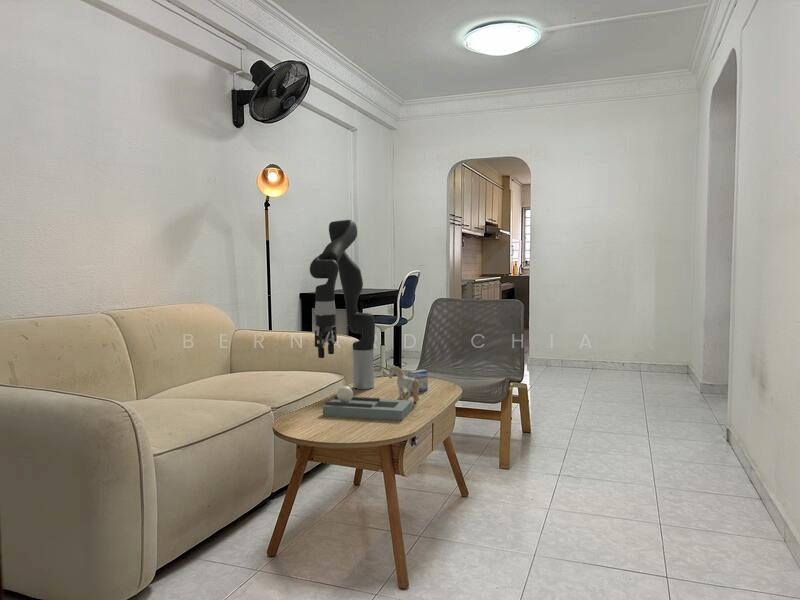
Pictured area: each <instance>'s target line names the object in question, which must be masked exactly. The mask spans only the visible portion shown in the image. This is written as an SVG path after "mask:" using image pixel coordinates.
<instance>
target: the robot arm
mask: <svg viewBox="0 0 800 600" xmlns="http://www.w3.org/2000/svg"><path fill="white" fill-rule="evenodd" d="M328 235H329V238H330V242H329V243H328V244H326V246H325V248H324V249H323V251H322V253H320V254H319V255H317V256H316V257H315V258H314V259H313V260H312V261H311V262H310V265H309V273H310V276H311V277H312V278H315V279H327V281H326V282H325V283H324V284H320V285H317V286H316V287H315V292H314V293H315V303H314V304H315V306H314V314H315V315H314V319H315V320H314V323H315V326H316V327H318V330H314V347H315V348H317V351H318V353H317V355H318V356H317V357H318V358H319V359H325V345H326V343H327V354H329V355H334V354H335V343H336V342H337V341H338V340H337V337H338V336H337V335H338V334H337V326H336V324H337V322H336V321H337V320H336V303H335V287H336V282H337V279H338V274H339V280H340V284H341V287H342V288H341V289H342V292H343V296H344V303H345V310H346V318H347V319H346V320H347V326H348V328H349V329H348V330H349V331H350V332H351V333H353V334H360V335H362V336H361V339H359V340H357V341H353V343H352V385H353V386H352V387H354V388H353V389H355V388H357V389H356V390H371V389H373V388H375V369H374V368H375V367H374V366H375V364H374V363H375V362H374V356H375V355H374V354H375V353H374V345H375V338H376V337H375V334H376V333H375V332H376V321H375V320H376V319H375V317H374V315H373V313H370V312H369V313H368V312H359V309H358V301H359V297H360V295H361V293H362V290H363V286H364V282H363V277H362V272H361V269H360V267H359V266H358V264H357V263H356V262H355V261H354V260H353V259H352V258H351V257H350V256H349V254H347V252H346V250H347V249H348V248H349V247H350V246H351V245H352V244H353V243H354V242H355V241H356V239H357V236H358V228H357V223H356V222H355V221H354V220H352V219H343V220H334V221H331V222H330V223H329V224H328ZM370 388H371V389H370Z"/></svg>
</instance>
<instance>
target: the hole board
mask: <svg viewBox="0 0 800 600" xmlns="http://www.w3.org/2000/svg"><path fill="white" fill-rule="evenodd" d="M324 403H325V404H324V405H322V416H324V417H335V418H337V417H338V418H355V419H356V418H357V419H368V418H369V420H370V419H371V420H372V419H373V420H384V419H388V421H400V420H402V421H404V419H406V417H407V416H408V415H409V414H410V413H411V412H410V411H411V410H413V400H409V399H408V400H405V399H402V400H398V399H389V398H387V399H386V398H384V399H383V398H380V397H369V396H368V397H366V396H353V397H352V399H351V400H350V401H349V402H341V401H340V400H339V399H338V397H337V395H334V396H333V399H331V400H330V401H328V400H326V401H325V402H324ZM409 412H410V413H409Z"/></svg>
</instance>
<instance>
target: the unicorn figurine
mask: <svg viewBox="0 0 800 600" xmlns="http://www.w3.org/2000/svg"><path fill="white" fill-rule="evenodd" d="M379 368H380V369H381V368H382V369H384V370H386V371H388V379H392V378H393V376H395V374H396V376H397V379H396V385H397V387H398V393H399V394H398V395H399V396H398V397H397V400H403V399H404V400H408V401H409V399H410V395H411V394H412V398H413V400H412V403H414V402H415V403H418V402H419V401H420V399H419V393H420V392H419V386H420V385H419V382H418V381H417V379H414V378H408V376H406V374H405V372H404V370H403V368H400V367H399V366H398V365H397V366H396V365H392V366H389V368H387V367H383V366H379ZM411 388H413V392H410V390H411ZM404 389H406V390H407V395H406V392H405V391H404Z"/></svg>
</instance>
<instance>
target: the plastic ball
mask: <svg viewBox="0 0 800 600" xmlns="http://www.w3.org/2000/svg"><path fill="white" fill-rule="evenodd" d="M336 396H337V397H338V399H339V400H340V401H341V402H349V401H350V400H351V399H352V397H354V391H353V389H352V388H351V387H350V386H348V385H347V386H346V385H345V386H341V387H339V389H338V390H337V392H336Z"/></svg>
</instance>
